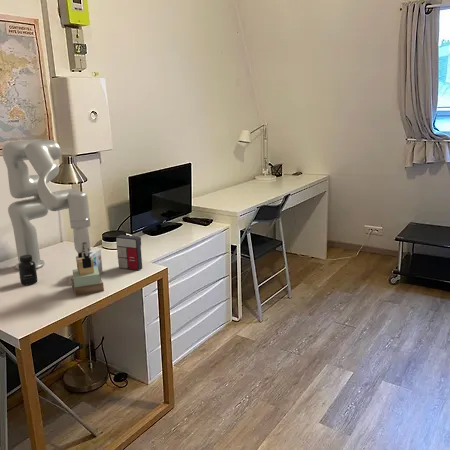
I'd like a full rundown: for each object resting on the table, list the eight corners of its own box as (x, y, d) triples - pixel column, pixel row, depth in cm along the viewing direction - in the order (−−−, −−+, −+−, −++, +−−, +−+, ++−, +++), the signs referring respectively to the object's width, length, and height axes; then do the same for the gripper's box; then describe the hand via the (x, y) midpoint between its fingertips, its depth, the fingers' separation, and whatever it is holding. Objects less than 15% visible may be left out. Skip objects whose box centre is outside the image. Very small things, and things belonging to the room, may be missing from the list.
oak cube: (77, 271, 188) (76, 258, 187) (91, 268, 190) (90, 256, 189) (80, 275, 183) (78, 262, 182) (94, 272, 186) (92, 260, 184)
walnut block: (72, 287, 192) (71, 279, 191) (99, 282, 196) (98, 274, 195) (76, 297, 182) (75, 288, 181) (104, 292, 187) (103, 283, 186)
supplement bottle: (27, 287, 193) (23, 260, 189) (17, 284, 196) (13, 257, 193) (41, 281, 198) (37, 255, 195) (31, 278, 202) (27, 252, 199)
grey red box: (117, 268, 211) (114, 237, 207) (123, 265, 215) (120, 234, 211) (138, 271, 207) (135, 239, 203) (143, 267, 211) (140, 236, 207)
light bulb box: (92, 280, 198) (89, 256, 195) (77, 279, 199) (75, 256, 196) (103, 271, 208) (101, 248, 205) (89, 270, 209) (87, 248, 206)
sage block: (73, 278, 191) (72, 269, 190) (98, 274, 194) (97, 266, 193) (74, 287, 182) (73, 278, 181) (100, 283, 185) (99, 274, 184)
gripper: (67, 219, 187) (72, 259, 192) (74, 229, 172) (79, 272, 177) (86, 217, 190) (90, 256, 195) (94, 226, 175) (98, 268, 180)
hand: (85, 263), depth 186 cm, fingers open, 9 cm apart
